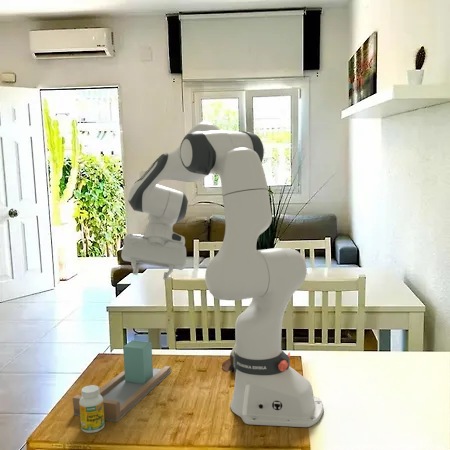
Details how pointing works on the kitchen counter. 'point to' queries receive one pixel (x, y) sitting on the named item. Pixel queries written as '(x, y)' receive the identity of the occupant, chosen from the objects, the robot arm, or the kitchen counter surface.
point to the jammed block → (138, 362)
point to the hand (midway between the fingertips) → (150, 276)
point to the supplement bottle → (91, 409)
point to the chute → (123, 394)
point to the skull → (229, 362)
